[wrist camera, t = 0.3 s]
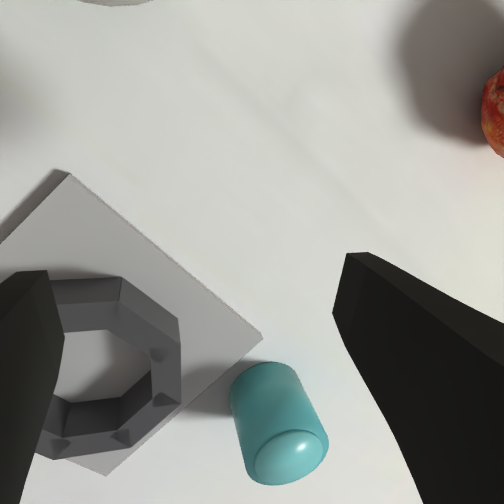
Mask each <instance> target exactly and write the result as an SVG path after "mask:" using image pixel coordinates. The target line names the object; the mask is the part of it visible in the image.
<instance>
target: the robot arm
mask: <svg viewBox="0 0 504 504" xmlns="http://www.w3.org/2000/svg"><path fill="white" fill-rule="evenodd" d="M332 314H333V317H334V319H335V322H336V325H337V328H338V330H339V333H340V335H341V338H342V340H343V343H344V345H345V347H346V349H347V351H348V353H349V355H350V356H351V358H352V360H353V362H354V364H355V366H356V367H357V369H358V371H359V373H360V375H361V376H362V378H363V380H364V382H365V384H366V385H367V387H368V389H369V391H370V392H371V394H372V396H373V398H374V400H375V401H376V403H377V405H378V407H379V408H380V410H381V412H382V414H383V416H384V417H385V419H386V421H387V423H388V425H389V427H390V429H391V431H392V433H393V435H394V437H395V439H396V441H397V443H398V445H399V448H400V450H401V452H402V454H403V457H404V459H405V461H406V464H407V466H408V468H409V470H410V473H411V475H412V477H413V479H414V482H415V484H416V487H417V489H418V492H419V494H420V497H421V499H422V502H423V504H504V323H502V322H500V321H497V320H495V319H493V318H491V317H489V316H487V315H485V314H483V313H481V312H479V311H477V310H475V309H473V308H471V307H469V306H467V305H465V304H464V303H462V302H460V301H458V300H456V299H454V298H452V297H450V296H449V295H447V294H445V293H443V292H441V291H439V290H438V289H436V288H434V287H432V286H430V285H429V284H427V283H425V282H423V281H421V280H420V279H418V278H416V277H414V276H413V275H411V274H409V273H407V272H405V271H404V270H402V269H400V268H398V267H397V266H395V265H393V264H391V263H389V262H387V261H385V260H384V259H382V258H380V257H378V256H375V255H373V254H371V253H369V252H360V253H347V254H346V258H345V262H344V266H343V270H342V274H341V278H340V282H339V287H338V291H337V295H336V299H335V303H334V307H333V311H332ZM64 341H65V335H64V331H63V328H62V324H61V320H60V317H59V313H58V309H57V305H56V302H55V298H54V294H53V290H52V287H51V283H50V279H49V276H48V272H47V270H35V271H17V272H15V273H14V274H12V275H11V276H9V277H8V278H7V279H5V280H4V281H3V282H1V283H0V504H19V503H20V500H21V496H22V492H23V489H24V485H25V481H26V478H27V475H28V472H29V469H30V466H31V462H32V459H33V456H34V453H35V450H36V447H37V444H38V441H39V437H40V434H41V431H42V428H43V425H44V422H45V419H46V416H47V412H48V409H49V406H50V403H51V400H52V396H53V393H54V390H55V387H56V383H57V380H58V376H59V370H60V365H61V360H62V353H63V347H64Z"/></svg>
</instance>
